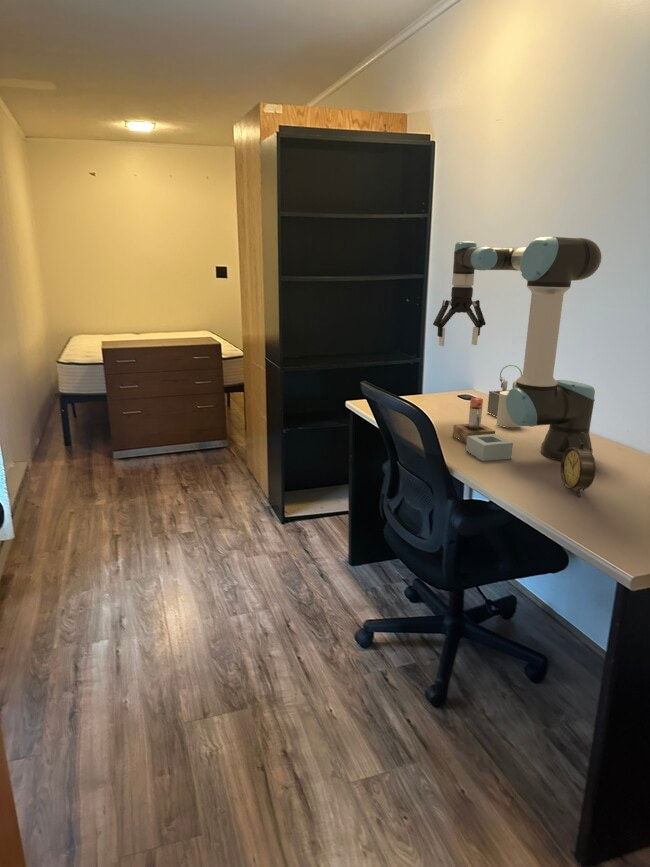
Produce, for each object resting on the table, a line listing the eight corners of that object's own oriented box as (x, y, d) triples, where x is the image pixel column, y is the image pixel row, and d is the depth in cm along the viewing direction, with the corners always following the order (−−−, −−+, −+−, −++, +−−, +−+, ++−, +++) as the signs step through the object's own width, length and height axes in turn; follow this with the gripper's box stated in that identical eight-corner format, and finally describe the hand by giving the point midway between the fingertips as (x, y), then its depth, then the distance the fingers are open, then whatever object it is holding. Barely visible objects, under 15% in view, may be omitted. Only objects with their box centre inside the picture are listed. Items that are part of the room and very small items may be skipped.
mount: (494, 442, 198) (495, 430, 197) (467, 444, 195) (468, 432, 194) (478, 434, 207) (479, 423, 206) (452, 436, 204) (453, 424, 203)
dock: (511, 458, 182) (513, 442, 181) (482, 461, 179) (484, 445, 178) (493, 448, 191) (495, 433, 190) (465, 451, 188) (467, 436, 187)
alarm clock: (556, 484, 162) (564, 426, 157) (575, 483, 162) (584, 426, 157) (575, 499, 151) (583, 439, 147) (595, 499, 151) (605, 438, 147)
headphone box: (526, 416, 231) (529, 394, 228) (498, 418, 228) (501, 395, 225) (514, 411, 239) (516, 389, 236) (487, 413, 235) (489, 391, 233)
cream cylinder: (520, 428, 215) (524, 396, 211) (497, 427, 216) (501, 395, 212) (517, 422, 222) (521, 391, 219) (495, 421, 223) (498, 390, 220)
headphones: (495, 415, 233) (500, 364, 227) (496, 412, 236) (501, 363, 231) (517, 417, 230) (523, 366, 224) (517, 414, 234) (523, 364, 228)
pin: (481, 440, 200) (485, 400, 196) (471, 441, 199) (474, 400, 195) (475, 437, 203) (478, 397, 199) (465, 438, 202) (468, 398, 198)
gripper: (487, 285, 221) (482, 343, 227) (426, 285, 214) (422, 344, 220) (498, 286, 214) (493, 345, 220) (435, 286, 207) (431, 347, 213)
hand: (457, 345), depth 220 cm, fingers open, 13 cm apart
